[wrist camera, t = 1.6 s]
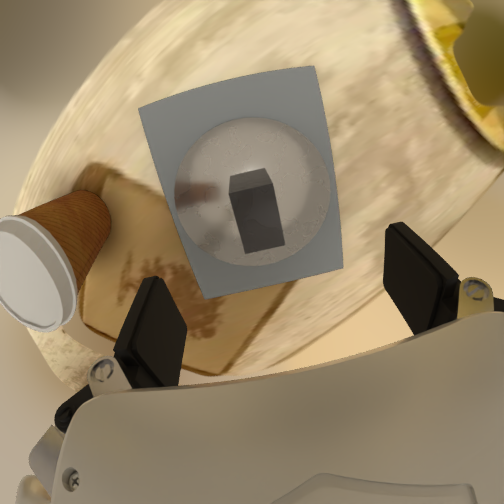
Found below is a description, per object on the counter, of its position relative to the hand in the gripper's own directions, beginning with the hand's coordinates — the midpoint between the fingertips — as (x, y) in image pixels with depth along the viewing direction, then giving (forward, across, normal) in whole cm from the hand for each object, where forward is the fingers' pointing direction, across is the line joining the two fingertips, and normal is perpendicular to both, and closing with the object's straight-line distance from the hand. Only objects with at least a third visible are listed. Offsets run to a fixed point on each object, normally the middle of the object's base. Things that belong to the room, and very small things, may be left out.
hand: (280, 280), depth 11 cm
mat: (+14, +1, +1) cm, 15 cm away
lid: (+14, +1, +1) cm, 14 cm away
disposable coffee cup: (+14, +18, -1) cm, 23 cm away
